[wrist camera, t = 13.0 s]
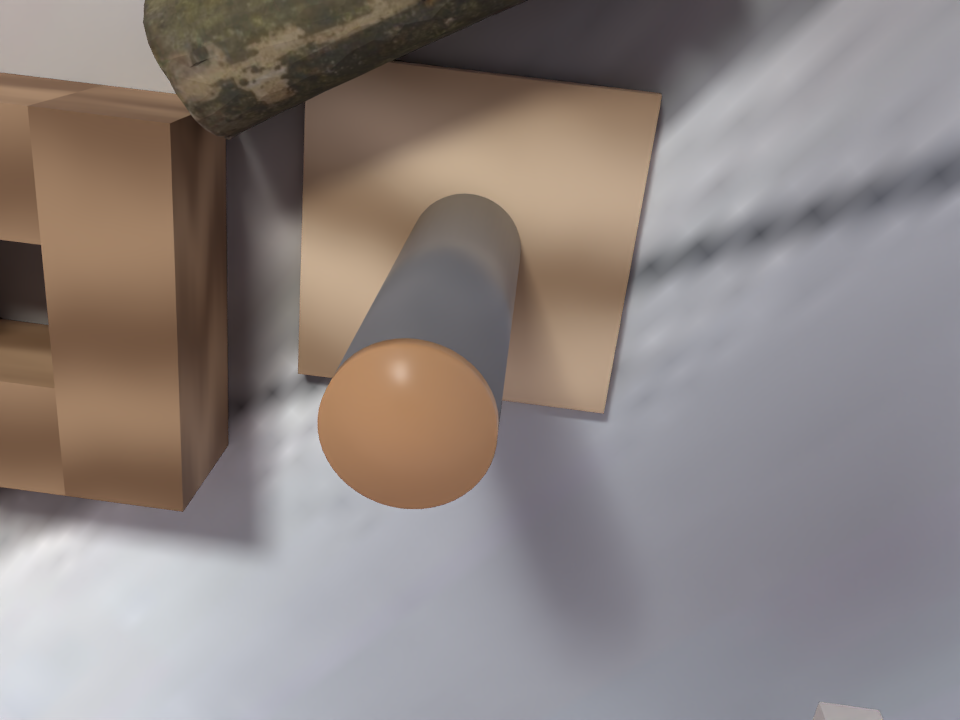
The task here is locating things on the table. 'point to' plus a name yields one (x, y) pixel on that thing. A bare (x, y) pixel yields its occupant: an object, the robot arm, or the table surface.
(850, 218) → the table surface
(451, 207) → the plug
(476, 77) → the light brown wooden board
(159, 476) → the socket block
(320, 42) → the brown lumpy club
